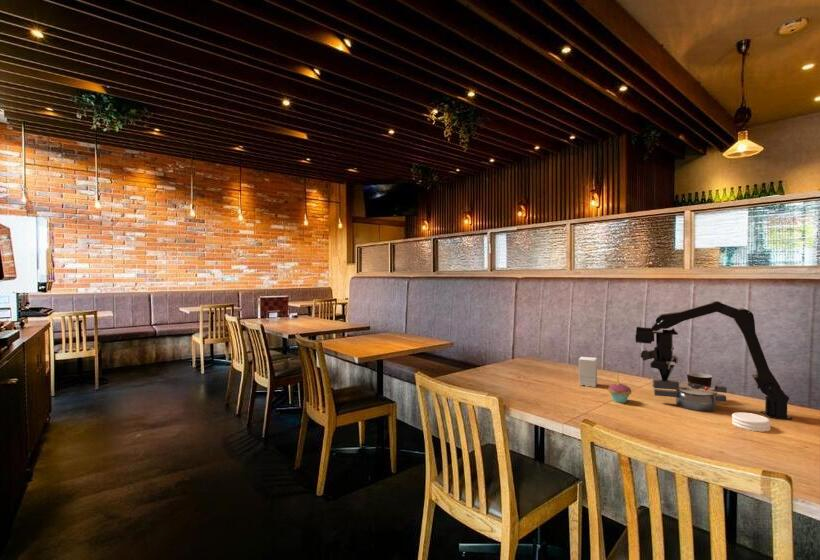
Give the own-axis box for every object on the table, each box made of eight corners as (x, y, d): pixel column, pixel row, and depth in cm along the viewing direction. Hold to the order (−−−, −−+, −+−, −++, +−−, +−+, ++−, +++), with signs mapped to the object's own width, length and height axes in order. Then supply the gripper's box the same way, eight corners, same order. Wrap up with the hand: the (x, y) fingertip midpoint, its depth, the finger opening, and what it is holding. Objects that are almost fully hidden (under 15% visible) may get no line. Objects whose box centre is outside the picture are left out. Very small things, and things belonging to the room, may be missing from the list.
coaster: (756, 434, 131) (756, 423, 131) (724, 423, 140) (724, 413, 140) (777, 430, 134) (777, 420, 134) (745, 420, 143) (745, 410, 143)
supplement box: (597, 384, 192) (597, 357, 192) (595, 387, 186) (595, 360, 186) (581, 382, 196) (581, 356, 196) (578, 385, 190) (578, 358, 189)
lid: (718, 387, 162) (718, 380, 162) (733, 397, 149) (733, 389, 149) (649, 383, 169) (649, 376, 169) (658, 392, 156) (658, 384, 156)
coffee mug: (712, 403, 162) (712, 378, 162) (686, 399, 167) (686, 375, 167) (712, 396, 171) (712, 372, 171) (687, 393, 176) (687, 370, 176)
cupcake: (625, 405, 160) (625, 375, 160) (604, 400, 166) (604, 371, 166) (634, 401, 165) (634, 372, 165) (613, 396, 172) (613, 368, 172)
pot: (719, 404, 161) (719, 389, 161) (731, 414, 149) (731, 398, 149) (651, 397, 169) (651, 383, 169) (657, 407, 157) (657, 392, 157)
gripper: (648, 340, 178) (648, 375, 178) (636, 345, 165) (636, 383, 165) (678, 342, 170) (678, 379, 170) (667, 348, 157) (668, 388, 157)
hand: (664, 382), depth 166 cm, fingers closed
